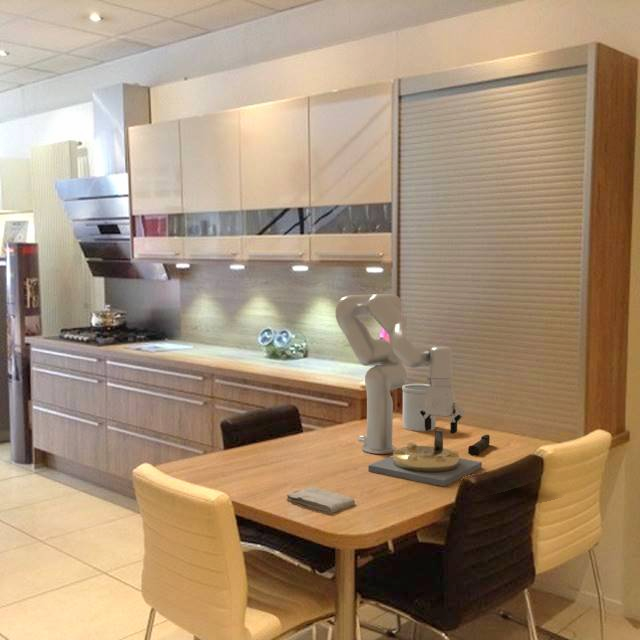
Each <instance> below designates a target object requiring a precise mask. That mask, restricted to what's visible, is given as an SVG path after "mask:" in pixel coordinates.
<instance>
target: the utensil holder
mask: <svg viewBox="0 0 640 640" xmlns="http://www.w3.org/2000/svg"><path fill="white" fill-rule="evenodd" d="M428 386H430V384H426V383H408V384H404V385H403V386H402V387H401V388H402V428H403V429H405V430H408V431H412V430H414V432H431V431H435V430H436V423H437V422H436V421H437V416H434V415H431V416H430V418H431V431H430V430H428V431H426V430H425V419H424V418H423V416H422V415H421V413H420V411H419V408H418V405H420V404H423V403H425V398H426V392H427V387H428ZM424 410H425V407H424Z"/></svg>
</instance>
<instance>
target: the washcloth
mask: <svg viewBox="0 0 640 640" xmlns="http://www.w3.org/2000/svg"><path fill="white" fill-rule="evenodd" d="M285 499H286V500H287V501H288V502H289V503H292V504H294V505H298V506H301V507H304V508H308V509H311V510H314V511H317V512H320V513H325V514H328V515H330V514H334V513H336V512H339V511H341V510H343V509H345V510H346V508H350V507H353V506H354V505H355V504H356V501H355V499H354V498H352V497H349V496H347V495H342V494H341V493H337V492H334V491H330V490H326V489H323V488H319V487H315V486H308V487H306V488H305V489H301V490H300V489H299V490H295V491H293V492H290V493H287V495H286V498H285Z"/></svg>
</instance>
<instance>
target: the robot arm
mask: <svg viewBox="0 0 640 640" xmlns="http://www.w3.org/2000/svg"><path fill="white" fill-rule="evenodd" d="M402 308H403V302H402V300H401V298H400V297H399V296H398V295H396V294H393V293H379V294H377V293H375V294H371V293H369V294H352V295H351V294H350V295H346V296H343V297H342V298H340V300H338V302H337V304H336V306H335V319H336V322H337V325H338V326H339V328H340V330H341V331H342V333H343V334H344V337H346V340H347V341H348V344H349V346H350V347H351V350H352V351H353V353H354V355H355V357H356V359H357V360H358V362H359V364H360V365H362V366H367V367H368V366H372V367H370V368H369V369H368V370H367V371H366V374H365V376H364V383H365V390H366V435H365V436H364V435H359V436H358V439H357V440H358V442H359V443H363V445H362V447H361V450H362V451H363V452H365V453H369V454H377V455H386V454H387V455H388V454H393V452H394V448H396V449H397V447H396V446H395V445H393V416H394V408H393V407H394V402H393V397H392V394H391V392H390V391H391V390H396V389H399V388H402V386H403V385H406V383H407V379H408V375H407V371H406V368H405V366H406V367H409V368H411V369H412V368H413V369H415V368H420V367H428V366H429V378H426V382H427V383H429V384H428V385H430V386H428V387H427V392H426V398H425V403H423V404H420V405H418V408H419V411H420V413H421V415H422V416H423V418H424V419H425V430H426V431H425V432H429V431H428V430H431V418H430V416H431V415H434V416H436V417H444V418H447V417H448V418H449V419H450V421H451V422H450V428H449V429H450V433H449V434H451V435H454V434H456V433H457V431H458V421H460V419H462V417H463V415H464V413H465V409H464V408H462V407H461V406H459V405H457V401H456V393H455V392H456V391H455V388H454V386H453V350H452V348H451V347H449V346H442V345H441V346H438V345H433V344H418V345H413V344H412V343H411V342H410V340H409V339H408V338H407V337H406V336H405V333H404V332H405V331H406V329H407V327H408V324H409V322H408V320H407V318H406V316H404V315H403V313H402V312H401V311H402V310H403V309H402ZM366 317H372V318H373V319H375V320H376V322H377V323H378V324H379V325H380V327H382V329H383V330H384V331H385V332H386V333H387V334H388V339H389V341H388V340H386V339H382V338H381V339H380V338H377V339H374V338H373V336H372V335H371V334H370V331H369V329H368V328H367V326H366V325H365V324H364V323H363V322H362V321H360V319H359V318H366ZM424 407H425V410H424ZM457 412H458V413H457ZM456 413H457V414H456ZM431 431H432V430H431Z"/></svg>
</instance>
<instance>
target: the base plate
mask: <svg viewBox="0 0 640 640" xmlns="http://www.w3.org/2000/svg"><path fill="white" fill-rule="evenodd" d="M482 463H483V462H482V461H478V460H473V459H468V458H461V457H459V466H458V467H457V468H455V469H453V470H449V471H441V472H423V471H414V470H409V469H404V468H401V467H399V466H397V465H395V464H394V463H393V455H390V456H388V457H386V458H383V459H381V460H379V461H375V462H373V463H371V464H368V466H367V467H368V472H370V473H377V474H380V475H385V476H391V477H394V478H401V479H405V480H409V481H413V480H414V481H415V482H418V481H419V483H423V482H424V483H423V484H428V483H429V484H428V485H433V484H434V485H433V486H437V485H439V486H438V487H442V486H445V485H446V486H448V485H450V484H452V483H454V482H456V481H458V480H460V479H462V478H464V477H466V476H468V475H470V474H472V473H474V472H476V471H478V470H480V469H482V468H483V467H482V466H483V465H482ZM465 475H466V476H465ZM463 476H464V477H463ZM461 477H462V478H461ZM459 478H460V479H459ZM457 479H458V480H457ZM455 480H456V481H455ZM453 481H454V482H453ZM451 482H452V483H451ZM449 483H450V484H449ZM447 484H448V485H447ZM446 486H445V487H446Z"/></svg>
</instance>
